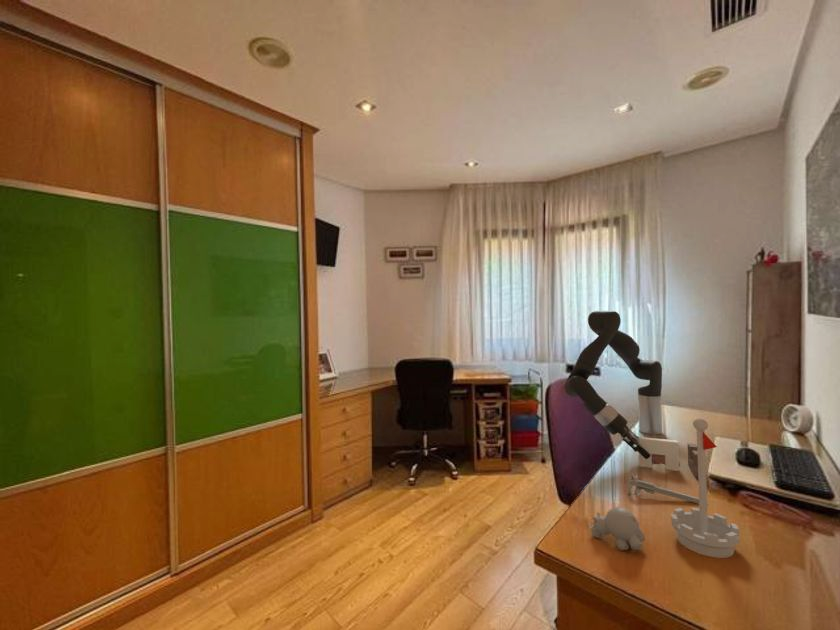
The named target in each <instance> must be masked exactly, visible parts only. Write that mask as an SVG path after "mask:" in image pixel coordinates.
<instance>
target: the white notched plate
mask: <svg viewBox="0 0 840 630" xmlns="http://www.w3.org/2000/svg"><path fill="white" fill-rule="evenodd" d="M638 443H639V444H640V445H641V446H642V447H643V448H644V449H645V450H646V451H647V452H648V453H649V454H650V455H651V454H658V455H665V467H664V468H665V470H668V471H675V472H680V466H679V463H680V454H679V453H680V452H679V441H678V440H676V439H675V440H674V439H668V438H667V439H664V438H656V437H655V438H653V437H647V436H646V437H644V436H643V437H642V436H638ZM638 465H639V467H643V468H644V467H645V468H650V469H653V468H652V467H653V463H652V456H650V457H649V458H648V459H645V458H644V457H643V456H642V455H641V454H640V453H639V452H638Z"/></svg>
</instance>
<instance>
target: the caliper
mask: <svg viewBox="0 0 840 630" xmlns="http://www.w3.org/2000/svg"><path fill="white" fill-rule="evenodd" d="M633 487H635V489H634V494H635V495H636V496H635V495H634V496H635V497H637V496H638V495H639V494H640V492H641V490H643V491H645V492H646V493H650V494H654V493H657V494H662V495H666V496H669V497H673V498H676V499H680V500H682V501H683V500H684V501H685V502H689V503H694V504H698V505H699V497H696V496H693V495H691V494H690V495H689V494H686V493H682V492H678V491H675V490H671V489H668V488H665V487H660V486H657V485H655V484H654V483H650V482H649V481H648V482H647V481H644V480H641V479H638V475H636V476H635V477H634V475H633V474H632V475H631V477H629V478H628V481H627V494H628V495H629V496H631V493H632V490H633ZM708 505H709V503H708V502H707V506H708Z"/></svg>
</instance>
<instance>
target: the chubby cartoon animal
mask: <svg viewBox="0 0 840 630" xmlns="http://www.w3.org/2000/svg"><path fill="white" fill-rule="evenodd" d="M596 515H597V516H596V517H595V516H593V517H592V519H593V524H591V523H590V522H588V528H589V530H590V533H591V534H592V536H593V537H594V538H596V537H597V538H596V539H601V538H603V536H609V535H611V536H612V537H613V538H615V544H616V547H617V549H618V550H619V551H627V550H629V549H630V548H631V549H632V550H640V549H642V548H643V544H642V543H643V542H645V540H646V536H645V534H644V532H643V530H642V529H641V528H640V524H639V521H638V519H637V517H636V516H635V514H634V513H632V512H631V511H630V510H629V509H627V508H625V507H620V506H619V507H618V506H616V507H613V508H611V509H610V510H608V511H607V513H606V515H605V516H601V514H600V513H599V512H597V513H596Z"/></svg>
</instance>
